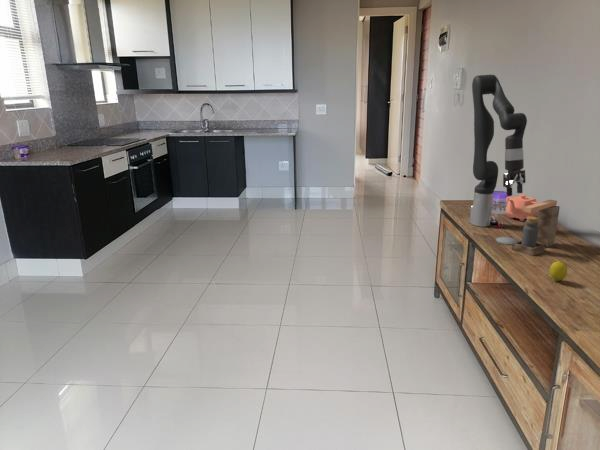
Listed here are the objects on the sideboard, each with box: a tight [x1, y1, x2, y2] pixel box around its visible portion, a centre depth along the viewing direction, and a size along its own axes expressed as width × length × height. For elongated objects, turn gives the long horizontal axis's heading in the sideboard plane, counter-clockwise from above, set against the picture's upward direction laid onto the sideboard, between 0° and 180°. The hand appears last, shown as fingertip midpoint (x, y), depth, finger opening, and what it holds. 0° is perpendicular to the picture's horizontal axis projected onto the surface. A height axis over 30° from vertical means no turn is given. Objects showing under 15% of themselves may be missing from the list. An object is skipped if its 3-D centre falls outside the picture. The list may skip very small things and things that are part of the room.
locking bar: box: [524, 199, 558, 213], centre depth 192 cm, size 3×21×2 cm, turn 124°
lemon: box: [549, 260, 568, 282], centre depth 162 cm, size 6×6×8 cm
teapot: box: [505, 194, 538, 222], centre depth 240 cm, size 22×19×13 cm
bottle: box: [521, 216, 539, 248], centre depth 192 cm, size 6×6×15 cm
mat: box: [495, 236, 520, 246], centre depth 206 cm, size 10×10×1 cm
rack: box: [511, 205, 561, 256], centre depth 195 cm, size 10×21×18 cm, turn 124°
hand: (514, 194), depth 202 cm, fingers open, 8 cm apart
